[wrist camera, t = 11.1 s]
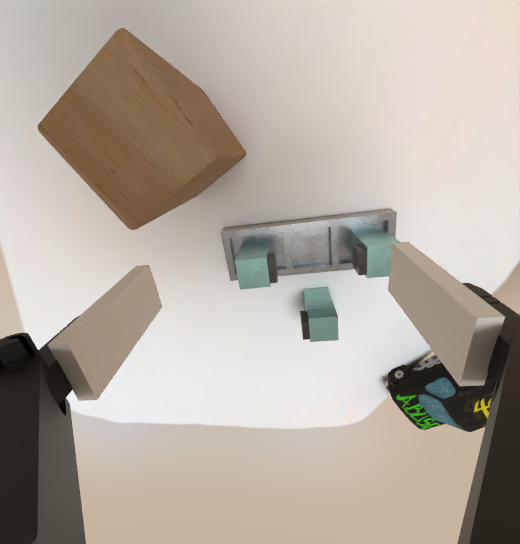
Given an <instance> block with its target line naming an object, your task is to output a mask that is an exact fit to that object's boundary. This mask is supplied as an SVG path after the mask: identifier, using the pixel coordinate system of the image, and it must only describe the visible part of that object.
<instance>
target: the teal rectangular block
mask: <svg viewBox="0 0 520 544" xmlns="http://www.w3.org/2000/svg"><path fill="white" fill-rule="evenodd" d="M235 265H236V270H237V276H238V281H239V286H240V289H249V288H260V287H270V284H271V283H276V282H278V271H277V263H276V255H275V253H271V250H270V242H269V237H265V238H256V239H247V240H243V242H242V244H241V247H240V249H239V252H238V254H237V257H236V259H235Z"/></svg>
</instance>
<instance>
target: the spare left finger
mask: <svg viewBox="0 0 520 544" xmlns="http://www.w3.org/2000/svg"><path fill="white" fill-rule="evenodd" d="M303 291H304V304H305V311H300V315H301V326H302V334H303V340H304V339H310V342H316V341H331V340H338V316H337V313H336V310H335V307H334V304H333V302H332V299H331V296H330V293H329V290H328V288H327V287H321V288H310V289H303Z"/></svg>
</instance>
